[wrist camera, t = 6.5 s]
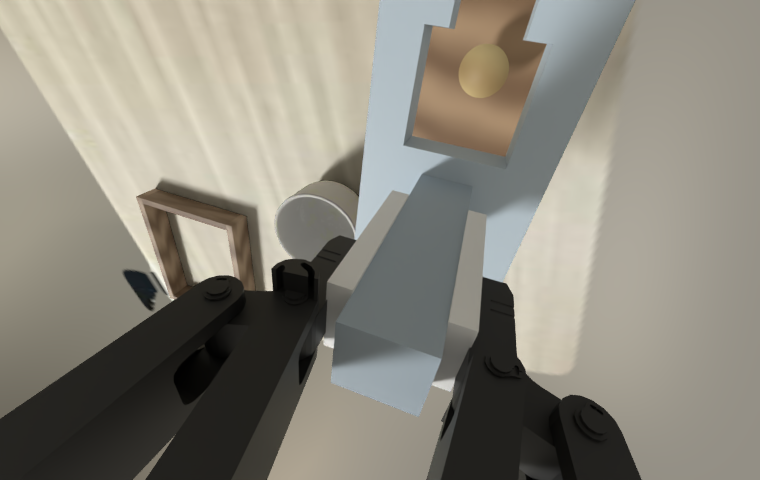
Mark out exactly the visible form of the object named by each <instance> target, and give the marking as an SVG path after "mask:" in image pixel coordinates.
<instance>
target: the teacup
mask: <svg viewBox="0 0 760 480" xmlns="http://www.w3.org/2000/svg"><path fill="white" fill-rule="evenodd" d="M358 202H359V197H358V196H357V194H356V193H354V192H353V191H352V190H351V189H350V188H348V187H346V186H345V185H343V184H340V183H337V182H333V181H319V182H314V183H312V184H310V185H307V186H306V187H304V188H303V189H301V190H300V191H298V192H297V193H296V194H294V195H293V196H291V197H289V198H288V199H286V200H285V201H284V202H283V203H282V204H281V205H280V207H279V208H278V210H277V212H276V216H275V232H276V235H277V237H278V240H279V242H280V244H281V245H282V247H283V249H284V250H285V251H286V252H287V253H288V254H289V255H290V256H291V257H292V258H293V259H304V260H307V261H310V262H311V261H312V260H313V259H314V257H316V255H317V254H318V253H319V252H320V250H322V248H323V247H324V246H325V245H326V243H327V242H328V241H329V240H331V239H333V238H335V237H337V236H339V235H341V236H344V237H348V238H351V239H355V230H356V220H357V211H358Z"/></svg>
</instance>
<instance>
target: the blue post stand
mask: <svg viewBox="0 0 760 480" xmlns="http://www.w3.org/2000/svg"><path fill="white" fill-rule="evenodd" d="M460 3H461V0H380V3H379V13H378V22H377V32H376V41H375V50H374V60H373V69H372V79H371V88H370V98H369V107H368V117H367V126H366V135H365V145H364V154H363V164H362V173H361V183H360V192H359V202H358V211H357V220H356V230H355V239H354V240H357V239H358V238H359V236H360V235H361V233H362V232H363V231H364V229H365V228H366V226H367V225H368V224H369V222H370V221H371V219H372V218H373V217H374V215H375V214H376V212H377V211H378V210H379V208H380V207H381V205H382V204H383V203H384V201H385V200H386V198H387V197H388V196H389V194H390V193H391V191H392V190H394V191H398V192H401V193H405V194H409V197H408V199H407V201H406V202H405V204H404V206H403V207H402V209H401V211H400V213H399V214H398V216H397V218H396V220H395V221H394V223H393V225H392V226H391V228H390V230H389V232H388V233H387V235H386V237H385V239H384V240H383V242H382V244H381V245H380V247H379V249H378V251H377V252H376V254H375V256H374V257H373V259H372V261H371V263H370V264H369V266H368V268H367V270H366V271H365V273H364V275H363V276H362V278H361V280H360V282H359V283H358V285H357V287H356V289H355V290H354V292H353V294H352V295H351V296H350V298H349V300H348V301H347V303H346V305H345V307H344V308H343V310H342V312H341V314H340V315H339V317H338V319H337V320H336V325H335V337H334V350H333V363H332V375H331V383H333V384H336V385H338V386H341V387H343V388H346V389H349V390H351V391H354V392H356V393H359V394H361V395H364V396H366V397H369V398H371V399H374V400H377V401H379V402H382V403H385V404H387V405H389V406H392V407H394V408H397V409H400V410H402V411H405V412H407V413H410V414H412V415H415V416H417V417H419V415H420V412H421V410H422V407H423V405H424V402H425V400H426V397H427V395H428V392H429V390H430V387H431V385H432V382H433V380H434V377H435V375H436V372H437V370H438V367H439V365H440V362H441V360H442V355H443V350H444V344H445V338H446V333H447V327H448V319H449V314H450V308H451V303H452V297H453V291H454V286H455V280H456V275H457V269H458V264H459V258H460V253H461V247H462V242H463V236H464V231H465V225H466V220H467V214H468V211H469V210H470V211H474V212H478V213H482V214H486V215H487V219H486V234H485V248H484V262H483V277H485V278H489V279H492V280H495V281H499V282H503V280H504V278H505V276H506V274H507V271H508V269H509V267H510V265H511V263H512V261H513V259H514V257H515V255H516V252H517V250H518V248H519V246H520V244H521V242H522V240H523V238H524V235H525V233H526V231H527V229H528V227H529V225H530V223H531V221H532V219H533V216H534V214H535V212H536V210H537V208H538V206H539V204H540V202H541V199H542V197H543V195H544V193H545V191H546V189H547V187H548V185H549V183H550V180H551V178H552V176H553V174H554V172H555V170H556V168H557V166H558V163H559V161H560V159H561V157H562V155H563V153H564V151H565V149H566V147H567V144H568V142H569V140H570V138H571V136H572V134H573V132H574V130H575V127H576V125H577V123H578V121H579V119H580V117H581V115H582V113H583V111H584V108H585V106H586V104H587V102H588V100H589V98H590V96H591V94H592V91H593V89H594V87H595V85H596V83H597V81H598V79H599V77H600V75H601V72H602V70H603V68H604V66H605V64H606V62H607V60H608V58H609V55H610V53H611V51H612V49H613V47H614V45H615V43H616V41H617V39H618V36H619V34H620V32H621V30H622V28H623V26H624V24H625V22H626V19H627V17H628V15H629V13H630V11H631V9H632V7H633V5H634V3H635V0H536V2H535V5H534V8H533V11H532V14H531V17H530V20H529V23H528V26H527V29H526V32H525V35H524V38H523V40H525V41H531V42H537V43H543V44H547V45H546V48H545V50H544V53H543V56H542V58H541V61H540V64H539V67H538V69H537V72H536V75H535V77H534V80H533V83H532V86H531V88H530V91H529V94H528V96H527V99H526V102H525V105H524V107H523V110H522V113H521V115H520V118H519V121H518V124H517V126H516V129H515V132H514V134H513V137H512V140H511V143H510V145H509V148H508V151H507V153H506V156H505V157H504V156H499V155H495V154H491V153H486V152H482V151H477V150H473V149H468V148H464V147H460V146H455V145H451V144H446V143H442V142H437V141H433V140H429V139H424V138H420V137H415V136H412V134H413V129H414V123H415V118H416V113H417V108H418V102H419V97H420V92H421V86H422V81H423V76H424V71H425V65H426V60H427V55H428V49H429V44H430V39H431V33H432V28H433V26H436V27H442V28H449V29H455V25H456V21H457V16H458V12H459V7H460Z"/></svg>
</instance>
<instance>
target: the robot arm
mask: <svg viewBox="0 0 760 480" xmlns="http://www.w3.org/2000/svg"><path fill="white" fill-rule="evenodd" d="M408 197H409V194H405V193H401V192H398V191H394V190H392V191H391V193H390V194H389V196H388V197H387V198H386V200H385V201H384V203H383V204H382V205H381V207H380V208H379V210H378V211H377V212H376V214H375V215H374V217H373V218H372V219H371V221H370V222H369V224H368V225H367V226H366V228H365V229H364V231H363V232H362V233H361V235H360V236H359V238H358V239H357V240H354V239H351V238H348V237H344V236H341V235H339V236H337V237H335V238H333V239H331V240H329V241H328V242H327V243H326V245H325V246H324V247H323V248H322V250H320V252H319V253H318V254H317V255H316V257H314V259H313V260H312V261H311V262H310V261H307V260H304V259H289V260H284V261H282V262H280V263H277V264H276V265H275V266H274V267H273V268H272V282H273V291H251V290H244V286H243V284H242V282H241V281H240V280H239V279H237V278H236V277H232V276H215V277H211V278H208V279H206V280H204V281H202V282H200V283H199V284H197V285H196V286H194V287H193V288H191V289H190V290H188V291H187V292H185V293H184V294H183V295H181V296H180V297H178V298H177V299H175V300H174V301H172V302H171V303H169V304H168V305H166V306H165V307H163V308H162V309H161V310H159V311H158V312H156V313H155V314H153V315H152V316H151V317H149V318H147V319H146V320H144V321H143V322H142V323H140V324H139V325H137V326H136V327H134V328H133V329H132V330H130V331H128V332H127V333H125V334H124V335H122V336H121V337H120V338H118V339H117V340H115V341H114V342H112V343H111V344H109V345H108V346H106V347H105V348H103V349H102V350H101V351H99V352H98V353H96V354H95V355H93V356H92V357H90V358H89V359H87V360H86V361H84V362H83V363H81V364H80V365H79V366H77V367H76V368H74V369H73V370H71V371H70V372H68V373H67V374H65V375H64V376H62V377H61V378H60V379H58V380H57V381H55V382H54V383H52V384H51V385H49V386H48V387H46V388H45V389H43V390H42V391H40V392H39V393H37V394H36V395H35V396H33V397H32V398H30V399H29V400H27V401H26V402H24V403H23V404H21V405H20V406H18V407H17V408H15V409H14V410H13V411H11V412H10V413H8V414H7V415H5V416H4V417H2V418H1V419H0V480H133V479H134V478H135V476H136V475H137V474H138V473H139V472H140V471H141V470H142V469H143V468H144V467H145V466H146V465H147V464H148V463H149V462H150V461H151V460H152V459H153V457H155V455H156V454H157V453H158V452H159V451H160V450H161V449H162V448H163V447H164V446H165V445H166V444H167V443H168V442H169V441H170V440H171V438H173V436H175V437H174V438H173V440H172V441H171V443H170V444H169V446H168V447H167V449H166V450H165V452H164V453H163V455H162V456H161V458H160V459H159V460H158V462H157V463H156V465H155V466H154V468H153V469H152V471H151V472H150V474H149V475H148V477H147V478H146V480H267V478H268V476H269V473H270V471H271V468H272V466H273V463H274V461H275V458H276V456H277V453H278V451H279V448H280V446H281V443H282V441H283V439H284V436H285V434H286V431H287V429H288V426H289V424H290V421H291V418H292V416H293V414H294V411H295V409H296V406H297V404H298V402H299V399H300V396H301V394H302V392H303V389H304V387H305V384H306V382H307V379H308V377H309V374H310V372H311V369H312V367H313V364H314V362H315V360H316V356H317V346H318V345H319V343H320V341H321V340H322V338H323V336H324V345H325V346H327V347H330V348H333V349H334V337H335V325H336V320H337V319H338V317H339V315H340V314H341V312H342V310H343V308H344V307H345V305H346V303H347V301H348V300H349V298H350V296H351V295H352V294H353V292H354V290H355V289H356V287H357V285H358V283H359V282H360V280H361V278H362V276H363V275H364V273H365V271H366V270H367V268H368V266H369V264H370V263H371V261H372V259H373V257H374V256H375V254H376V252H377V251H378V249H379V247H380V245H381V244H382V242H383V240H384V239H385V237H386V235H387V233H388V232H389V230H390V228H391V226H392V225H393V223H394V221H395V220H396V218H397V216H398V214H399V213H400V211H401V209H402V207H403V206H404V204H405V202H406V201H407V199H408ZM486 219H487V215H486V214H482V213H478V212H474V211H470V210H469V211H468V214H467V220H466V225H465V231H464V236H463V242H462V247H461V253H460V258H459V264H458V269H457V275H456V280H455V286H454V291H453V297H452V303H451V308H450V314H449V319H448V327H447V333H446V338H445V344H444V350H443V355H442V360H441V362H440V365H439V367H438V370H437V372H436V375H435V377H434V380H433V382H432V385H433V386H436V387H438V388H441V389H444V390H447V391H450V392H451V389H452V387H453V385H454V390H453V398H452V400H451V402H450V404H449V406H448V408H447V410H446V412H445V414H444V416H443V418H442V420H441V421H442V422H443V425H442V429H441V432H440V435H439V439H438V442H437V445H436V449H435V452H434V455H433V459H432V462H431V466H430V469H429V472H428V476H427V479H426V480H641V478H640V475H639V472H638V470H637V468H636V465H635V463H634V460H633V458H632V456H631V453H630V451H629V449H628V446H627V444H626V441H625V439H624V436H623V434H622V432H621V430H620V428H619V427H618V425H617V423H616V421H615V420H614V419H613V418H612V417H611V416H610V414H608V412H607V411H606V410H605V409H604V408H602V407H601V406H600V405H598V404H597V403H595V402H594V401H592V400H590V399H588V398H585V397H582V396H578V395H570V396H567V397H565V398H563V399H562V400H561V399H559V398H558V397H556V396H554V395H553V394H551V393H550V392H548V391H547V390H545V389H543V388H542V387H540V386H539V385H538V384H536V383H535V382H534V381H532V380H531V378H529V376H527V374H526V371H525V368H524V366H523V365H522V363H521V361H520V360H519V359H518V358H517V351H516V333H515V319H514V309H513V308H514V299H513V294H512V292H511V291H510V289H509V287H508V285H507V284H506V283H502V282H499V281H495V280H492V279H489V278H485V277H483V262H484V248H485V234H486ZM176 433H177V434H176Z"/></svg>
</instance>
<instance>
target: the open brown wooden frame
mask: <svg viewBox="0 0 760 480" xmlns="http://www.w3.org/2000/svg"><path fill="white" fill-rule="evenodd" d="M136 198H137V201H138V204H139V207H140V210H141V213H142V216H143V219H144V221H145V224H146V227H147V230H148V233H149V236H150V239H151V242H152V245H153V248H154V251H155V254H156V257H157V260H158V263H159V266H160V269H161V272H162V275H163V278H164V281H165V283H166V286H167V289H168V292H169V295H170V298H172V299H174V300H175V299H177V298H178V297H180V296H181V295H183V294H184V293H185V292H187V291H188V290H190V289H191V288H193V287H191V286H188V285H187V283H186V279H185V276H184V272H183V269H182V265H181V262H180V258H179V255H178V251H177V248H176V244H175V241H174V237H173V234H172V231H171V227H170V224H169V220H168V217H167V213H166V211H167V212H171V213H174V214H177V215H180V216H183V217H186V218H190V219H193V220H196V221H199V222H202V223H205V224H208V225H212V226H215V227H218V228H221V229H224V230H227V235H228V241H229V247H230V253H231V258H232V264H233V270H234V276H235V277H236V278H237V279H239V280H240V281H241V282H242V284H243V286H244V290H251V291H256V290H255V282H254V274H253V266H252V258H251V250H250V242H249V234H248V226H247V218H246V216H244V215H240V214H237V213H234V212H230V211H227V210H224V209H221V208H217V207H214V206H211V205H207V204H204V203H201V202H198V201H194V200H191V199H188V198H184V197H181V196H178V195H174V194H171V193H168V192H165V191H161V190H158V189H153V190H151V191H148V192H146V193H144V194H141V195H139V196H137V197H136Z"/></svg>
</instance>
